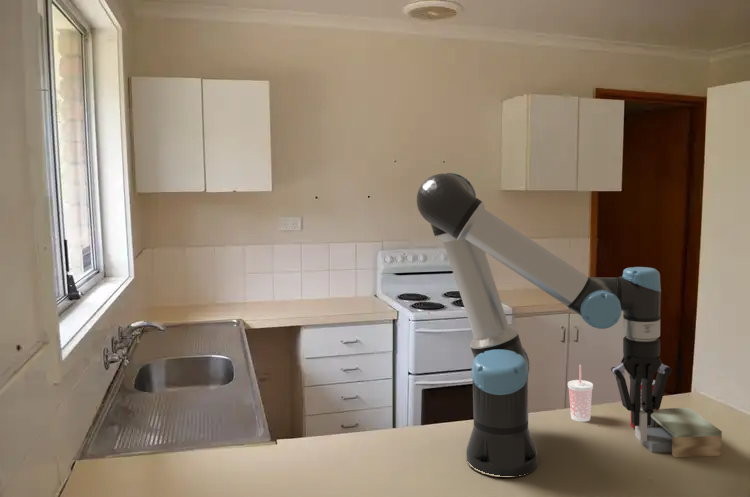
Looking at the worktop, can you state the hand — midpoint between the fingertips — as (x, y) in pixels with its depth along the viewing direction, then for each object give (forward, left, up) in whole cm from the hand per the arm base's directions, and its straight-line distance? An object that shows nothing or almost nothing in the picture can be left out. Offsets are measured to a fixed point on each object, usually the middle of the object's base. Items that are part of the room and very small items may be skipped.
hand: (641, 438), depth 133 cm
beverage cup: (-8, +16, -2) cm, 18 cm away
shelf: (+9, 0, -2) cm, 9 cm away
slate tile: (+6, 0, -2) cm, 6 cm away
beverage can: (+5, +8, -2) cm, 10 cm away
